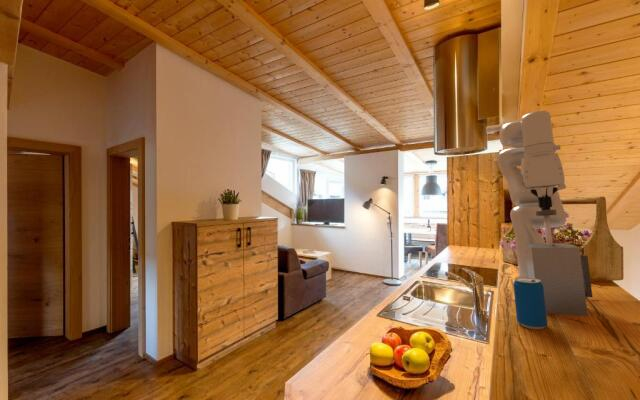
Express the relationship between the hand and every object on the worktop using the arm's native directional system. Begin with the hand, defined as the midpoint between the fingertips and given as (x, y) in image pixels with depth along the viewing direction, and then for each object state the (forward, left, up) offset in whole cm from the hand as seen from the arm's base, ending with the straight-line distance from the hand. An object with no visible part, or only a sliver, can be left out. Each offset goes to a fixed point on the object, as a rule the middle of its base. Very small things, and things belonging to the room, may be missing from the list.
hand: (545, 209), depth 87 cm
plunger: (0, 0, -20) cm, 20 cm away
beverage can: (+17, -9, -30) cm, 36 cm away
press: (0, +1, -30) cm, 30 cm away
